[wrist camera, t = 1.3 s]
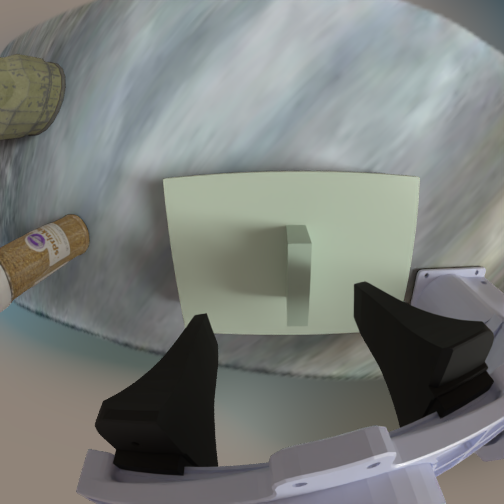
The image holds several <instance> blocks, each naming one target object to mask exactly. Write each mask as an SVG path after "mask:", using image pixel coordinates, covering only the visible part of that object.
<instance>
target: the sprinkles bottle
mask: <svg viewBox="0 0 504 504" xmlns="http://www.w3.org/2000/svg"><path fill="white" fill-rule="evenodd" d="M88 246H89V233H88V229H87V227H86V225H85V224H84V222H83V220H82V219H80V217H78V216H76V215H66V216H65V217H63V218H62V219H59V220H57V221H55V222H53V223H49V224H46V225H44V226H42V227H40V228H37V229H35V230H33V231H31V232H29V233H27V234H26V235H24V236H22V237H20V238H18V239H16V240H14V241H12V242H10V243H8V244H7V245H5V246H3V247H1V248H0V312H1V311H3V310H4V309H6V308H7V307H8V306H9V305H10V303H12V301H13V300H14V299H15V298H16V297H18V296H19V295H21V294H22V293H23V292H25V291H26V290H27V289H29V288H31V287H33V286H35V285H36V284H38V283H39V282H41V281H42V280H43V279H45V278H46V277H48V276H49V275H51V274H52V273H54V272H55V271H56V270H58V269H59V268H61V267H62V266H64V265H65V264H67V263H68V261H70V260H72V259H73V258H75V257H76V256H78V255H81V254H83V253H84V252H85V251H86V250H87V248H88Z"/></svg>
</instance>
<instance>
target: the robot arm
mask: <svg viewBox="0 0 504 504" xmlns="http://www.w3.org/2000/svg"><path fill="white" fill-rule="evenodd" d="M485 271H486V270H485V268H484V267H466V268H445V269H422V270H419V271H418V273H417V276H416V281H415V286H414V290H413V295H412V299H411V304H410V305H409V304H407V303H405V302H403V301H401V300H399V299H397V298H395V297H393V296H391V295H389V294H388V293H386V292H384V291H382V290H381V289H379V288H377V287H375V286H373V285H372V284H370V283H368V282H366V281H364V282H360V283H356V284H354V319H355V322H356V324H357V327H358V329H359V332H360V334H361V336H362V337H363V339H364V341H365V343H366V344H367V346H368V348H369V349H370V351H371V353H372V355H373V356H374V358H375V360H376V362H377V363H378V365H379V367H380V369H381V371H382V374H383V376H384V379H385V381H386V384H387V386H388V389H389V392H390V395H391V398H392V401H393V404H394V407H395V410H396V414H397V417H398V421H399V425H400V428H398V429H396V430H394V431H391V432H388V431H387V428H386V427H382V426H376V425H375V426H370V427H366V428H361V429H358V430H355V431H351V432H348V433H344V434H341V435H337V436H333V437H330V438H325V439H321V440H317V441H312V442H308V443H303V444H298V445H294V446H290V447H287V448H283V449H281V450H279V451H277V452H276V453H274V454H273V455H271V457H270V460H269V462H268V463H259V464H249V465H238V466H220V467H218V460H217V451H216V439H215V423H214V398H215V388H216V379H217V369H218V344H217V341H216V338H215V335H214V333H213V330H212V327H211V324H210V321H209V318H208V315H207V313H205V314H198V315H194V317H193V318H192V319H191V321H190V322H189V324H188V325H187V327H186V328H185V330H184V331H183V332H182V334H181V335H180V337H179V338H178V339H177V341H176V342H175V343H174V345H173V346H172V347H171V348H170V349H169V351H168V352H167V353H166V354H165V355H164V357H163V358H162V359H161V360H160V361H159V362H158V363H157V364H156V365H155V366H154V367H153V368H152V369H151V370H150V371H148V372H147V373H146V374H145V375H144V376H142V377H141V378H140V379H139V380H137V381H136V382H135V383H133V384H132V385H130V386H129V387H127V388H126V389H124V390H123V391H121V392H119V393H118V394H116V395H114V396H112V397H110V398H108V399H107V400H104V401H103V403H102V406H101V408H100V411H99V414H98V417H97V419H96V422H95V427H96V429H97V431H98V432H99V434H100V435H101V436H102V437H103V438H104V439H105V440H106V441H107V442H109V443H110V444H111V445H112V446H113V447H114V448H115V449H116V453H115V455H113V454H111V453H108V452H103V451H98V450H92V449H88V452H87V455H86V458H85V462H84V465H83V468H82V472H81V475H80V479H79V483H78V486H77V490H76V492H77V493H78V494H79V495H81V496H83V497H85V498H86V499H88V500H90V501H92V502H94V503H96V504H446V501H445V499H444V496H443V494H442V491H441V488H440V486H439V484H438V481H437V479H436V476H438V475H440V474H442V473H443V472H445V471H447V470H448V469H450V468H452V467H453V466H455V465H456V464H458V463H459V462H461V461H462V460H464V459H465V458H467V457H468V456H470V455H471V454H472V453H476V454H477V455H478V456H479V457H480V458H481V459H482V460H483V461H493V460H500V459H504V293H502V292H501V291H500V290H499V289H498V288H497V287H495V286H494V285H493V284H492V283H491V282H489V281H488V280H487V279H486V278H485V277H484V275H485ZM475 272H476V273H475ZM426 273H427V275H426V276H425V274H426Z"/></svg>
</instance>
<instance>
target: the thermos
mask: <svg viewBox="0 0 504 504" xmlns="http://www.w3.org/2000/svg"><path fill="white" fill-rule="evenodd" d="M65 88H66V84H65V74H64V71H63V69H62V68H61V67H60V66H59V65H58V64H56V63H52V62H45V61H44V60H43V59H41V58H36V57H31V56H25V55H20V54H15V55H11V56H8V57H4V58H1V57H0V140H3V139H11V138H20V137H24V136H25V135H38V134H41V133H42V132H44V131H45V130H47V129H48V127H49V126H50V125H51V124H52V123H53V121H54V120H55V118H56V116H57V114H58V113H59V110H60V108H61V105H62V102H63V99H64V93H65Z"/></svg>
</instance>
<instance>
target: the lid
mask: <svg viewBox="0 0 504 504" xmlns="http://www.w3.org/2000/svg"><path fill="white" fill-rule="evenodd" d="M419 183H420V177H416V176H408V175H396V174H382V173H365V172H341V171H262V172H237V173H219V174H205V175H192V176H181V177H171V178H165V179H163V186H164V196H165V205H166V214H167V222H168V230H169V237H170V244H171V251H172V258H173V264H174V270H175V276H176V282H177V288H178V294H179V299H180V304H181V310H182V315H183V320H184V325H185V328H186V327H187V325H188V324H189V322H190V321H191V319H192V318H193V317H194V315H198V314H205V313H207V315H208V318H209V321H210V324H211V327H212V330H213V333H221V334H250V335H308V334H337V333H356V332H359V329H358V327H357V324H356V322H355V319H354V284H356V283H360V282H364V281H366V282H368V283H370V284H372V285H373V286H375V287H377V288H379V289H381V290H382V291H384V292H386V293H388V294H389V295H391V296H393V297H395V298H397V299H399V300H401V301H404V297H405V292H406V287H407V282H408V277H409V271H410V266H411V260H412V253H413V247H414V239H415V231H416V222H417V212H418V200H419Z"/></svg>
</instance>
